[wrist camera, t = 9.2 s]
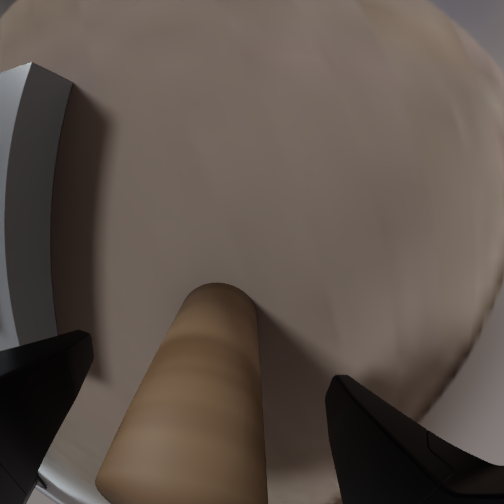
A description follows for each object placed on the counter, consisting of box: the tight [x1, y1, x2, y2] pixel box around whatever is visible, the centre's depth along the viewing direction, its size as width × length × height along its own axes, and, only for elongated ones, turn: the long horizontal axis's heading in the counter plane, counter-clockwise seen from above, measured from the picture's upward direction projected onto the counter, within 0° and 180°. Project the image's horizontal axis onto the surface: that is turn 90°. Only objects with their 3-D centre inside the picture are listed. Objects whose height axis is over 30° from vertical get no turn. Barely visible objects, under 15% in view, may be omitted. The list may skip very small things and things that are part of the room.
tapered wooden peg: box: [95, 283, 268, 504], centre depth 7 cm, size 3×3×8 cm
